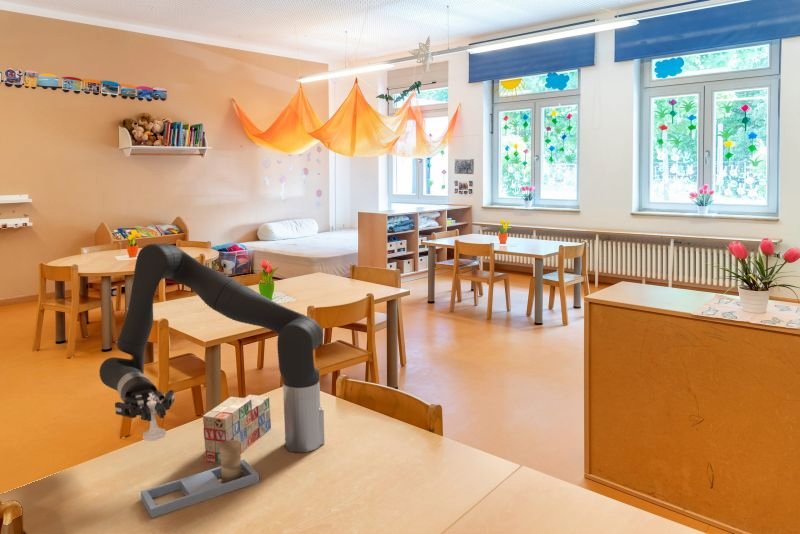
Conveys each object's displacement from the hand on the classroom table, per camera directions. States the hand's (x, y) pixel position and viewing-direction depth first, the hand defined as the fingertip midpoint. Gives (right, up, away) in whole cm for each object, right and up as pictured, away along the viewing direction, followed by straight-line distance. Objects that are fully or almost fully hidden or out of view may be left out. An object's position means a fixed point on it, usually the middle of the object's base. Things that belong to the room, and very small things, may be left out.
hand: (155, 415), depth 132 cm
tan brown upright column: (+15, -17, +6) cm, 23 cm away
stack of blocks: (+12, -14, +24) cm, 31 cm away
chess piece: (-2, -6, +4) cm, 7 cm away
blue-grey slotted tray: (+9, -17, +2) cm, 20 cm away
